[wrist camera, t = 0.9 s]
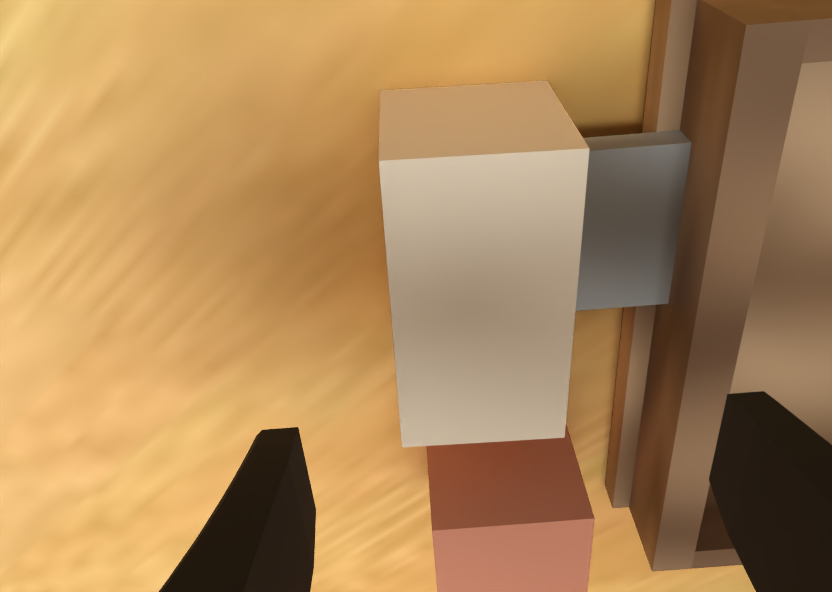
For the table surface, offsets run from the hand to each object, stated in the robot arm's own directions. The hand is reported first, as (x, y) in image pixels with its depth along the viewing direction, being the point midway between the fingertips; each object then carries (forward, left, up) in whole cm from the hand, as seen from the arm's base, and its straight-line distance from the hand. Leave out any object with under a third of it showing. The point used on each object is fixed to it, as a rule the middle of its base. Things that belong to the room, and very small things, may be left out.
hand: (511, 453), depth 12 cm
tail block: (-8, -1, -8) cm, 11 cm away
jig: (-3, -9, -8) cm, 13 cm away
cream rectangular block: (0, 0, -9) cm, 9 cm away
